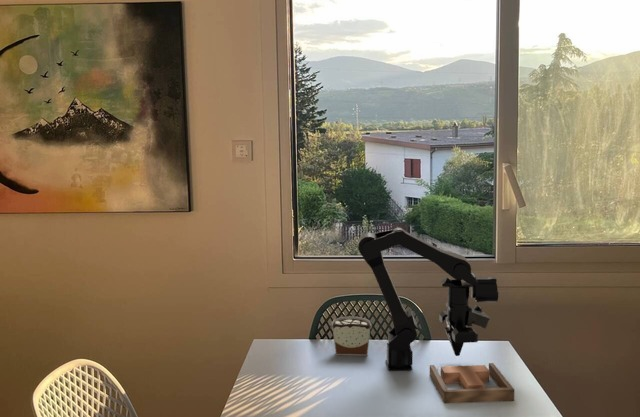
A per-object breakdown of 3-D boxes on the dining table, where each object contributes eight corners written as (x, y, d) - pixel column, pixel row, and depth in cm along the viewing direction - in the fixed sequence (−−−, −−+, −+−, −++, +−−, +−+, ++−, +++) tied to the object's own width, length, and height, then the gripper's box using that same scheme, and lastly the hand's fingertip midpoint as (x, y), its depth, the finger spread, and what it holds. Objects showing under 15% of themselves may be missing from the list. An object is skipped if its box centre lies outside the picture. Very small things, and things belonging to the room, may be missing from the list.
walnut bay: (444, 403, 150) (444, 391, 150) (429, 375, 166) (429, 365, 166) (514, 400, 151) (514, 389, 151) (492, 373, 167) (493, 363, 167)
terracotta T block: (452, 397, 154) (452, 386, 153) (440, 377, 165) (440, 366, 165) (499, 395, 154) (499, 384, 154) (484, 375, 166) (484, 365, 166)
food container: (372, 347, 187) (372, 316, 185) (372, 355, 181) (372, 323, 179) (332, 346, 188) (332, 315, 186) (330, 354, 182) (330, 322, 180)
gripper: (498, 311, 160) (496, 368, 162) (477, 291, 178) (476, 342, 181) (456, 312, 159) (454, 369, 162) (439, 292, 178) (438, 343, 180)
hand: (457, 355), depth 171 cm, fingers closed
